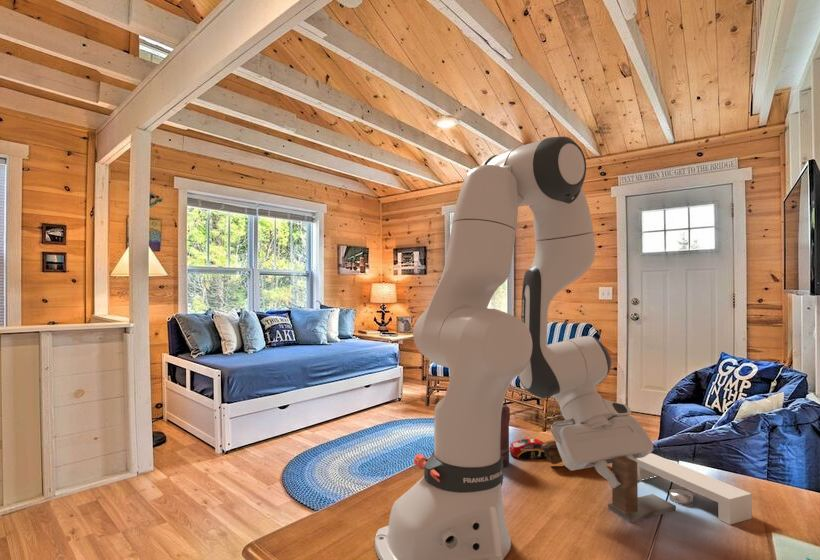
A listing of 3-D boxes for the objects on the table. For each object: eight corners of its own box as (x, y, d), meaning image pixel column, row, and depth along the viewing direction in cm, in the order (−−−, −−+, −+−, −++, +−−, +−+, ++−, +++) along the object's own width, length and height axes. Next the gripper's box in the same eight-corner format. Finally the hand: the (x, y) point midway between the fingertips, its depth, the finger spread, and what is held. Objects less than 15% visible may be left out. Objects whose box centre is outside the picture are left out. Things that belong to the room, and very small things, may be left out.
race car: (558, 452, 113) (558, 436, 113) (566, 460, 108) (566, 444, 108) (507, 452, 113) (507, 436, 113) (512, 460, 108) (512, 443, 108)
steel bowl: (683, 508, 84) (683, 499, 84) (664, 498, 88) (664, 490, 88) (697, 504, 86) (697, 496, 86) (678, 495, 90) (678, 487, 90)
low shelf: (729, 524, 78) (729, 499, 78) (632, 477, 98) (631, 456, 98) (751, 518, 80) (751, 493, 80) (651, 473, 100) (651, 453, 100)
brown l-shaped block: (629, 522, 79) (629, 466, 79) (608, 509, 84) (607, 456, 84) (675, 510, 83) (675, 457, 83) (652, 499, 88) (652, 448, 88)
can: (510, 469, 102) (510, 408, 102) (482, 467, 103) (482, 407, 103) (509, 459, 108) (509, 402, 108) (483, 457, 109) (483, 400, 109)
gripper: (554, 414, 85) (592, 486, 76) (633, 404, 92) (677, 469, 83) (539, 430, 89) (574, 501, 80) (616, 419, 96) (656, 483, 87)
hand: (627, 484), depth 81 cm, fingers open, 3 cm apart
